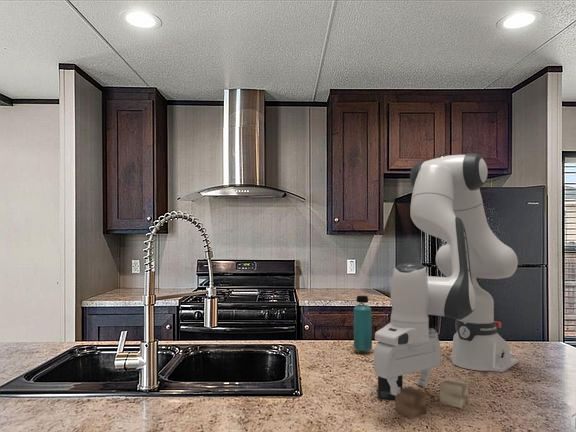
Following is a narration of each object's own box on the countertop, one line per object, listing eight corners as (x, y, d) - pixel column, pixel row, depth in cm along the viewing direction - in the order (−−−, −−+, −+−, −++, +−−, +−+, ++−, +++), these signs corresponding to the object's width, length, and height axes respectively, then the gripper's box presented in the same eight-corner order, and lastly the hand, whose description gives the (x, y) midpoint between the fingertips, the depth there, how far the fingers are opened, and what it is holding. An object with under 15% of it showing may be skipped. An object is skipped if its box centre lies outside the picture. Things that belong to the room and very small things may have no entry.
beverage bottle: (373, 355, 158) (373, 297, 159) (354, 355, 158) (354, 297, 159) (370, 350, 165) (370, 294, 165) (352, 350, 165) (352, 294, 165)
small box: (403, 401, 116) (403, 359, 116) (377, 399, 117) (377, 357, 118) (401, 387, 126) (401, 348, 127) (377, 385, 128) (377, 347, 128)
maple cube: (447, 397, 118) (447, 378, 119) (467, 402, 115) (467, 382, 115) (440, 403, 115) (440, 383, 115) (460, 408, 111) (460, 387, 112)
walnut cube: (409, 407, 112) (409, 386, 112) (426, 414, 108) (425, 392, 108) (395, 411, 109) (395, 390, 109) (411, 419, 105) (411, 397, 105)
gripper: (426, 325, 118) (426, 379, 117) (369, 334, 106) (369, 394, 105) (447, 329, 112) (447, 386, 112) (390, 339, 101) (389, 403, 100)
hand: (409, 390), depth 109 cm, fingers open, 8 cm apart
